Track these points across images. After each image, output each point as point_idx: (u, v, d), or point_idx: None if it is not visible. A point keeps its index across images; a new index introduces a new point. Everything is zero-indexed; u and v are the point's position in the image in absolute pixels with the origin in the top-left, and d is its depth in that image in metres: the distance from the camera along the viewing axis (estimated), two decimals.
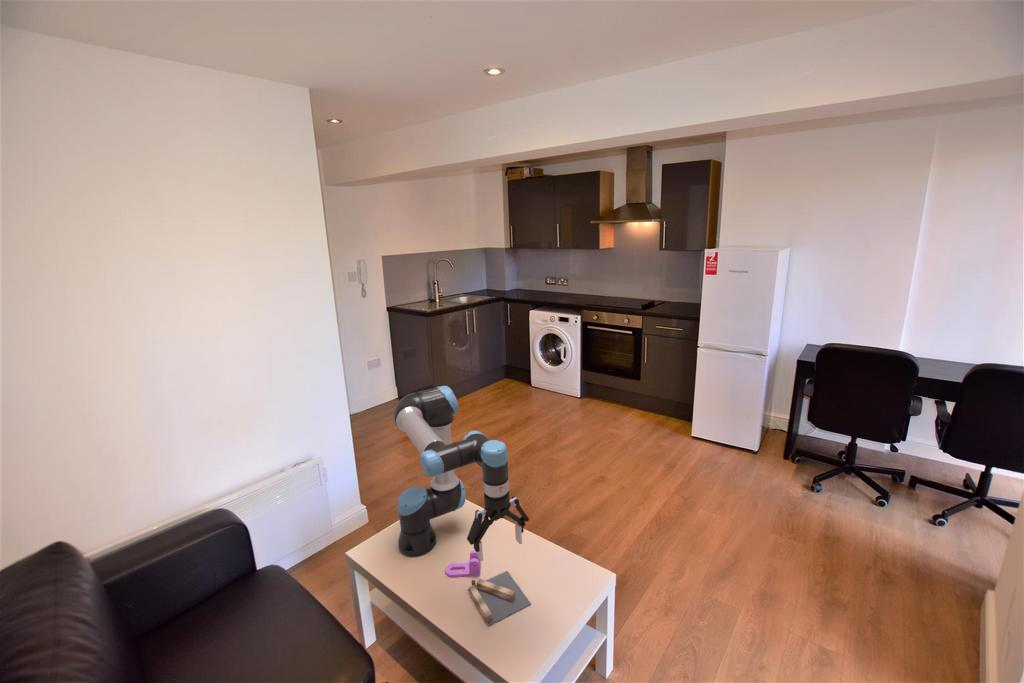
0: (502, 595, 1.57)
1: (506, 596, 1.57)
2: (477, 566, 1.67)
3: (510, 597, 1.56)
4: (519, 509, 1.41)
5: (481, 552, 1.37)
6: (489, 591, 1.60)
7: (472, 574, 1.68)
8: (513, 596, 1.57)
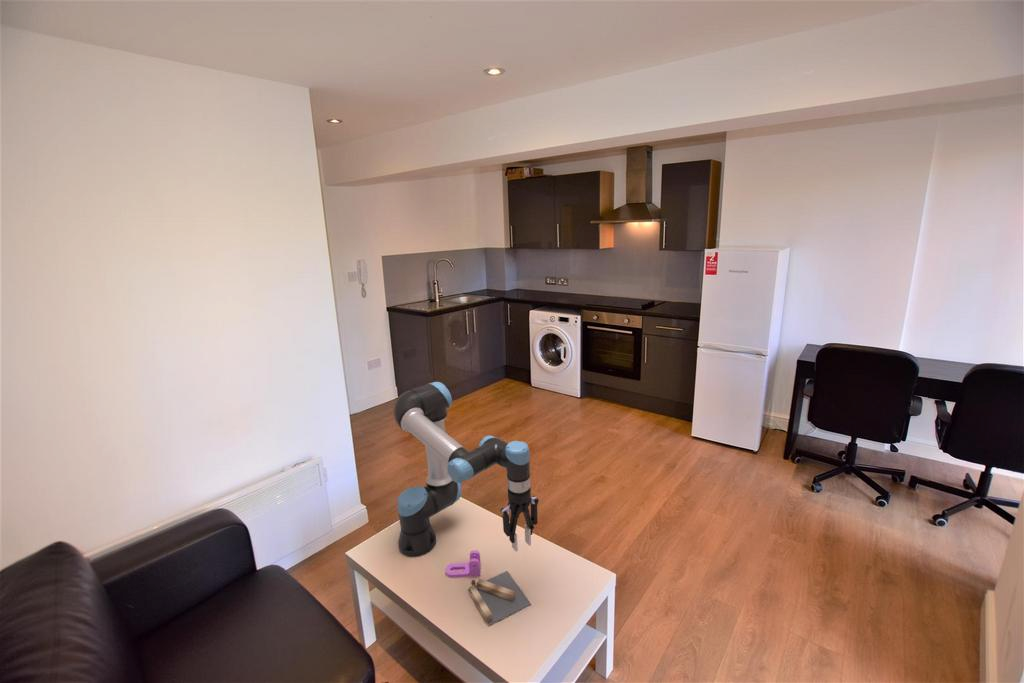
0: (502, 595, 1.57)
1: (506, 596, 1.57)
2: (477, 566, 1.67)
3: (510, 597, 1.56)
4: (535, 509, 1.54)
5: (516, 543, 1.53)
6: (489, 591, 1.60)
7: (472, 574, 1.68)
8: (513, 596, 1.57)
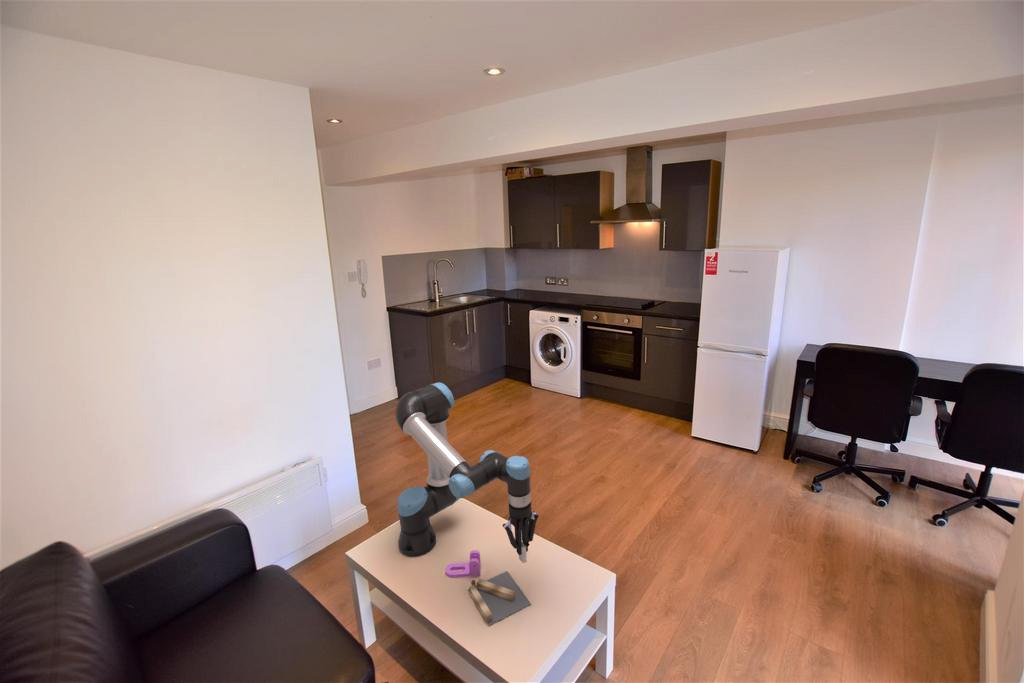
0: (502, 595, 1.57)
1: (506, 596, 1.57)
2: (477, 566, 1.67)
3: (510, 597, 1.56)
4: (533, 525, 1.55)
5: (523, 555, 1.55)
6: (489, 591, 1.60)
7: (472, 574, 1.68)
8: (513, 596, 1.57)
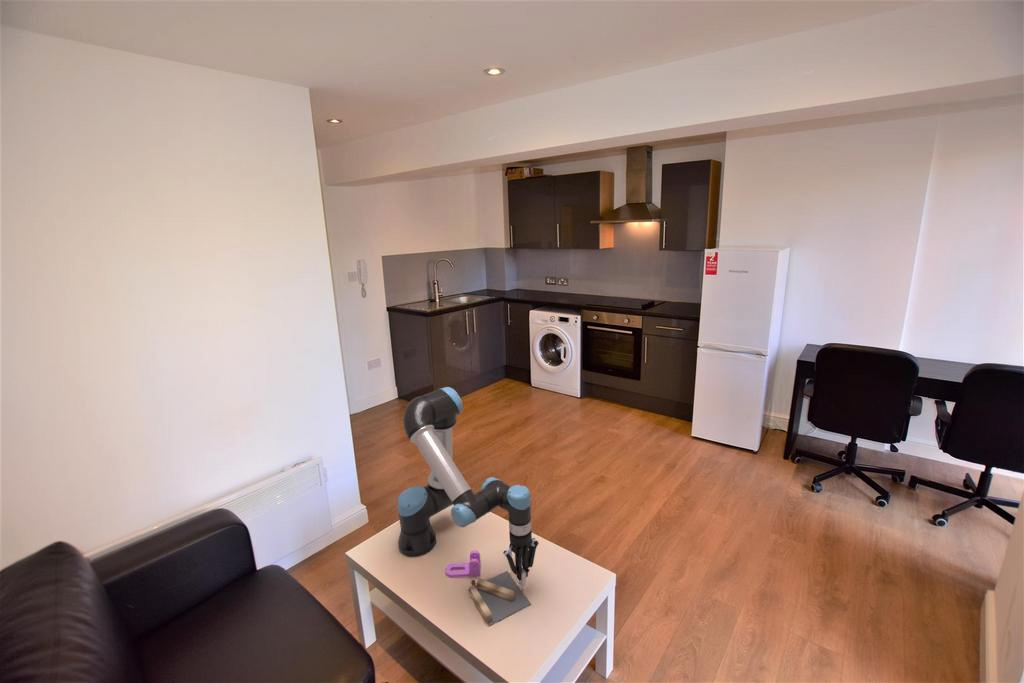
0: (502, 595, 1.57)
1: (506, 596, 1.57)
2: (477, 566, 1.67)
3: (510, 597, 1.56)
4: (533, 551, 1.58)
5: (523, 580, 1.59)
6: (489, 591, 1.60)
7: (472, 574, 1.68)
8: (513, 596, 1.57)
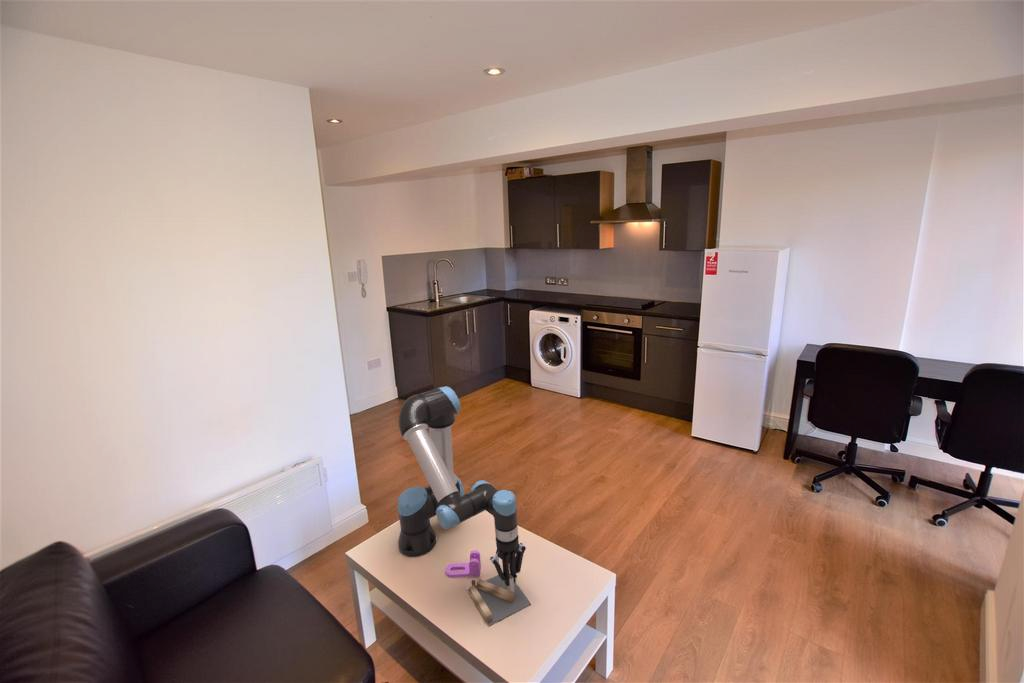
0: (502, 596, 1.57)
1: (505, 597, 1.56)
2: (477, 566, 1.67)
3: (509, 598, 1.55)
4: (520, 557, 1.56)
5: (511, 586, 1.57)
6: (489, 592, 1.59)
7: (472, 574, 1.68)
8: (512, 597, 1.56)
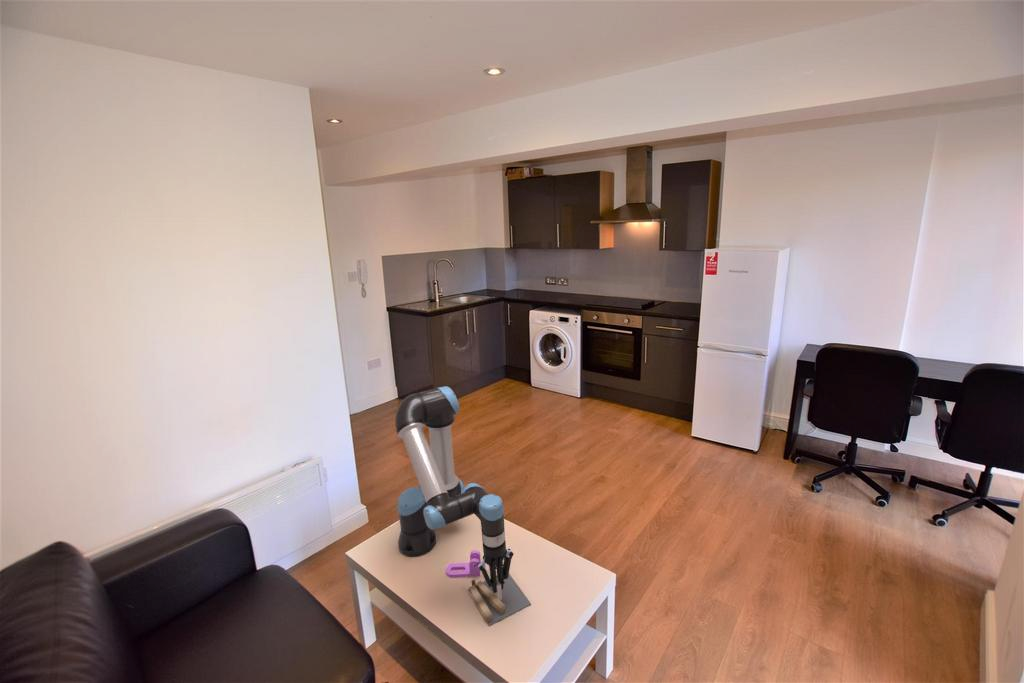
0: (494, 605, 1.54)
1: (496, 607, 1.53)
2: (477, 566, 1.67)
3: (499, 610, 1.51)
4: (508, 563, 1.53)
5: (498, 593, 1.54)
6: (484, 596, 1.58)
7: (472, 574, 1.68)
8: (503, 610, 1.51)
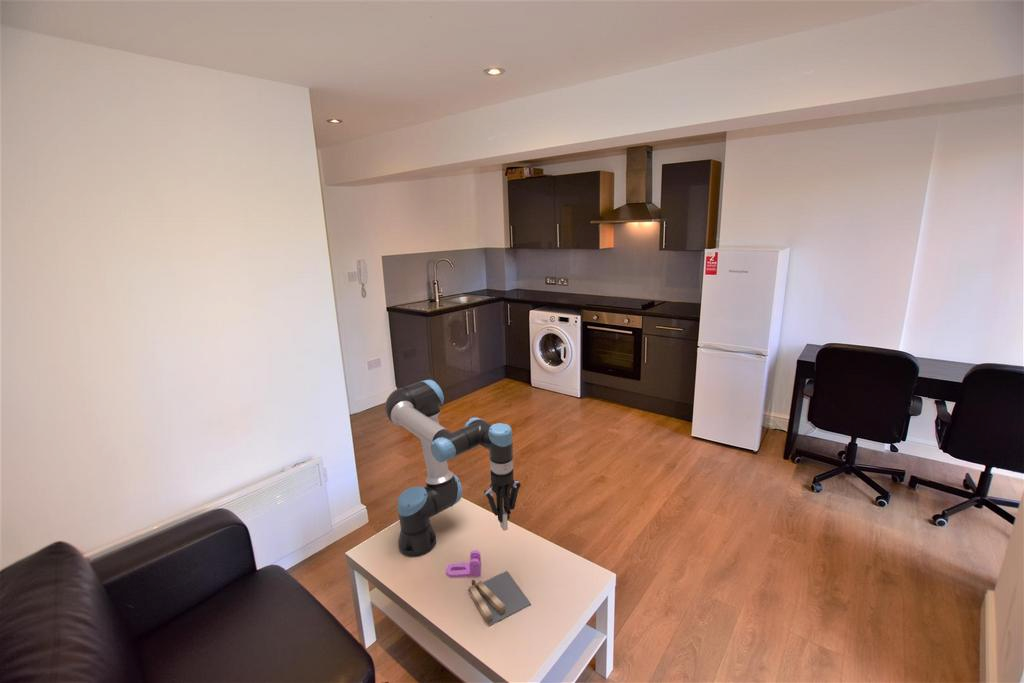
0: (494, 605, 1.54)
1: (496, 607, 1.53)
2: (477, 566, 1.67)
3: (499, 610, 1.51)
4: (515, 493, 1.55)
5: (504, 523, 1.56)
6: (484, 596, 1.58)
7: (472, 574, 1.68)
8: (503, 610, 1.51)
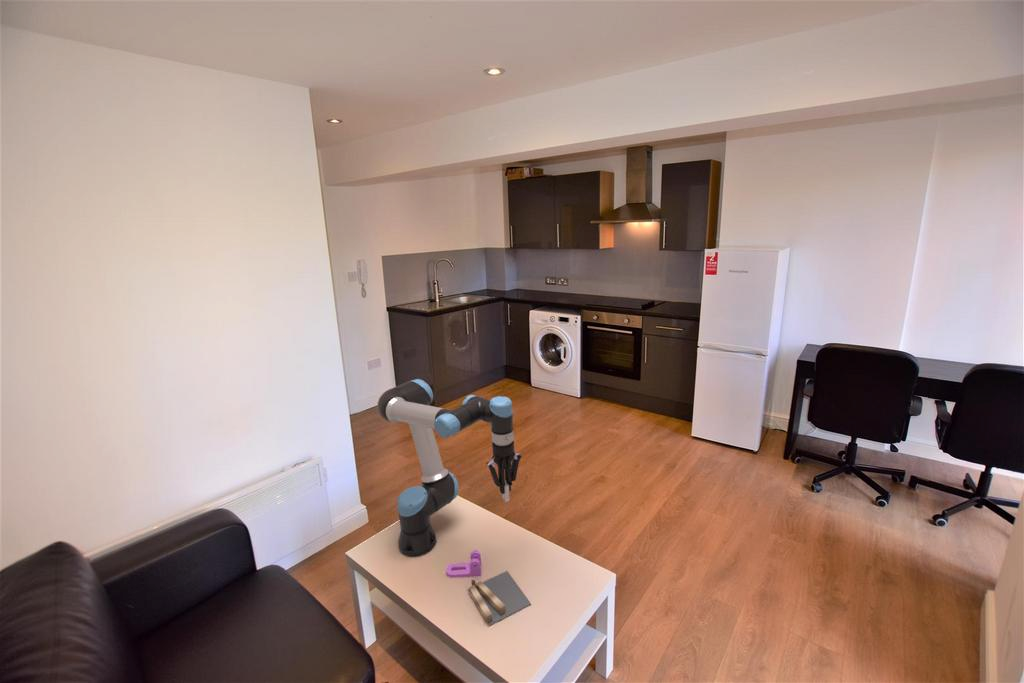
0: (494, 605, 1.54)
1: (496, 607, 1.53)
2: (478, 566, 1.67)
3: (499, 610, 1.51)
4: (516, 465, 1.61)
5: (506, 494, 1.61)
6: (484, 596, 1.58)
7: (473, 574, 1.68)
8: (503, 610, 1.51)
